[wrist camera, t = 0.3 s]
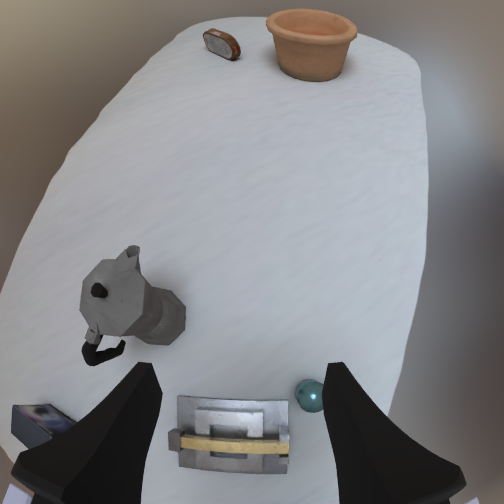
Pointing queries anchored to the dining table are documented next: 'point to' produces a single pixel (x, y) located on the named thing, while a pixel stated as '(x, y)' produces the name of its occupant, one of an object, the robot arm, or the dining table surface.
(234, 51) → the tin
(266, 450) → the pin
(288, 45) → the pottery
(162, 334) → the coffeepot
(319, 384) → the teal glass cylinder
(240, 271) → the dining table surface
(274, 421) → the dock
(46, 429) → the small box
